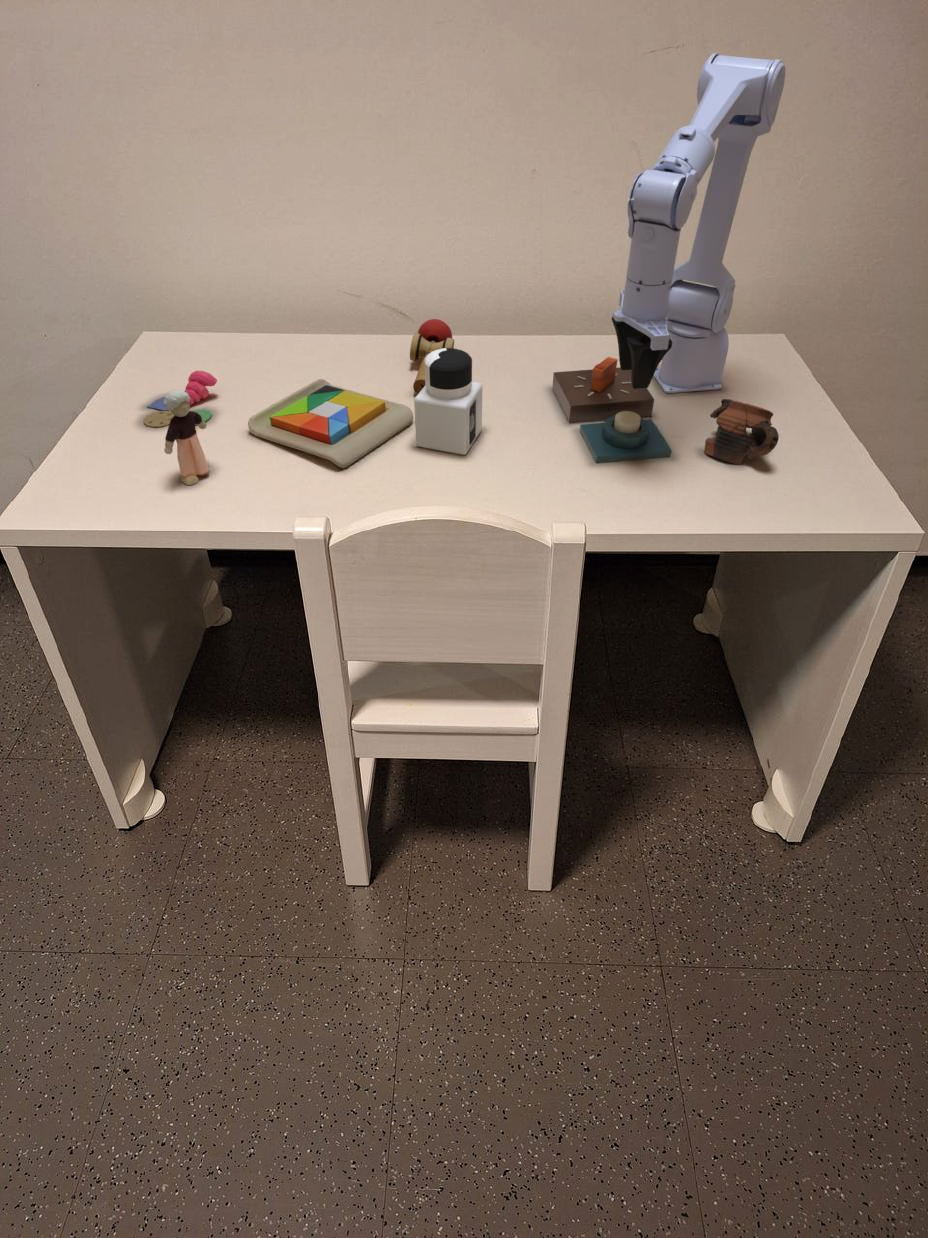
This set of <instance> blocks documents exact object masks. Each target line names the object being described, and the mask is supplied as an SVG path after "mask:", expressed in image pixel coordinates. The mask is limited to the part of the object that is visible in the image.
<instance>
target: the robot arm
mask: <svg viewBox="0 0 928 1238" xmlns="http://www.w3.org/2000/svg"><path fill="white" fill-rule="evenodd" d="M785 79H786V65H785V64H784V61H783V59H781V58H777V59H766V58H756V57H755V58H754V57H744V56H733V55H724V54H723V55H722V54H720V53H716V52H713V53H712V54H711V55H710V56H709V57H708V58H707V59H706V60H705V62H704V64H703V66H702V68H701V71H700V74H699V78H698V82H697V87H696V102H697V107H696V110H695V112H694V114H693V115H692V118H691V120H690V122H689V124H688V125H685V126H682V127H680V128H678V129H677V130H676V131H675V132H674V133H673V135H672V136H671V137H670V139H669V141H668V142H667V144H666V146H665V148H664V149H663V150H662V152H661V154H660V155H659V157H658V158H657V160H656V162H655V163H654V165H653V166H652V168H648V169H646V170H644V172H640V173H638V174H637V176H636V177H635V179H634V181H633V182H632V186H631V188H630V192H629V197H628V200H627V218H628V230H627V234H628V237H629V238H630V247H629V255H628V261H627V269H626V277H625V285H624V290H620V292H619V299H618V306H619V308H620V309H615V310H613V311H612V316H611V322H612V324H613V327H614V330H615V334H616V339H617V346H618V347H617V348H618V361H619V368H621V370H632V372H631V381H632V387H633V388H634V389H639V388H647V389H648V388H649V387H650V384H651V382H652V380H653V378H654V379H655V380H656V382H657V383H658V384H659V386H660V387H661V389H662V390H663V392H664V393H666V394H675V393H676V394H677V393H688V392H703V391H715V390H716V391H717V390H721V389H722V388H723V385H722V384H721V383H722V377H723V374H724V371H725V366H726V362H727V358H728V357H727V356H728V352H729V344H730V343H729V334H728V331H727V328H726V327H725V326H726V325H727V323H728V320H729V318H730V315H731V311H732V308H733V304H734V293H735V288H736V280H735V278H734V276H733V275H732V273H730V272H729V270H728V269H727V268H726V266H725V265H724V263H723V260H724V257H725V253H726V249H727V245H728V241H729V237H730V234H731V230H732V227H733V223H734V219H735V215H736V212H737V207H738V203H739V199H740V195H741V193H742V188H743V185H744V181H745V178H746V173H747V170H748V165H749V162H750V158H751V154H752V152H753V149H754V147H755V145H756V141H757V140H758V138H759V137H761V136H764V135H766V134H769V133H770V132H771V130H772V127H773V125H774V123H775V120H776V116H777V113H778V109H779V106H780V102H781V98H782V95H783V91H784V86H785V83H786V81H785ZM715 141H718V142H717V146H715ZM711 164H712V166H711V171H710V175H709V178H708V183H707V187H706V190H705V195H704V199H703V204H702V208H701V211H700V214H699V215H700V216H699V220H698V224H697V228H696V232H695V235H694V240H693V244H692V249H691V253H690V257H689V259H688V260H686V261H685V262H683V263H681V264H679V265H676V259H677V254H678V247H679V242H680V237H681V231H682V228H683V227H684V226H685V224H687V221H688V219H689V216H690V214H691V211H692V208H693V204H694V201H695V200H696V198H697V194H698V185H699V184H700V182H701V181H702V179H703V177H704V175H705V174H706V172H707V170H708V169H709V167H710V165H711ZM675 266H676V267H675ZM659 365H660V367H659Z"/></svg>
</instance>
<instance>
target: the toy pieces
mask: <svg viewBox="0 0 928 1238" xmlns="http://www.w3.org/2000/svg"><path fill="white" fill-rule="evenodd" d="M187 381H188V382H187V384H186V386H185V388H184V390H183V391H184V392H186V393H187V394H188V395H189V396H190V401H189V405H190V406H191V405H194V404H195V403H199V402H201V400H202V399H207V398H208V396H209V394H210V392H209V390H208V387H215V385H216V384H217V382H218V379H217V378H216V377H215V376H214V375H212V374H211V373H210V372H208V371H204V370H195V371H193V372H191V373H190V375H189V377H188V379H187ZM164 399H165V396H163V397H159V398H156V399H155V400H154V401H153V402H152V403H150V404H148V405H146V407H147V408H150V409H154V410H155V409H156V410H158V411H153V412H150V413H149V414H147V415H146V416H145V417H144V418H143V419H142V420H143V421H142V422H143V424H144V425H145V426H147V427H151V428H161V427H166V426H169V424H170V421H171V419H172V418H173V417H174V416H175V415H173V414H172V413H171V411H169V410H168V409H167V408H166V405H165V404H164ZM193 411H194V412H196V413H198V414H199V415H201V417H202V419H203V421H204V422H205V423H206V422H208V421H209V420H210V419H211V418H212V416H213V413H212V412H211V410H209V409H206V408H203V409H196V410H193ZM195 426H198V425H197V424H196V425H195Z"/></svg>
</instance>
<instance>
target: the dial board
mask: <svg viewBox="0 0 928 1238" xmlns="http://www.w3.org/2000/svg"><path fill="white" fill-rule="evenodd" d="M631 372H632V370H621V368H620V367H616V374H615V381H613V382H612V383H611V384H610V385H608V386H607V387H606V388H604V389H603V390H602V391H601V392H597V391H594V390H591V382H592V374H593V368H592V369H580V370H579V369H578V370H565V371H553V373H552V374H553V376H552V387H551V390H552V391H553V393H554V395H555V397H556V400H557V402H558V404H559V406H560V408H561V410H562V412H563V414H564V416H565V418H566V420H567V422H568V423H569V424H574V423H586V422H587V423H588V422H600V421H605V420H606V419H608V418H610V417H612V416H615V415H616V414H617V413H619V412H622V411H631V412H634V413H637V414H638V415H639V416H640V417H641V418H648V417H649V418H651V417H652V414H653V410H654V409H653V408H654V403H655V398H654V397H653V395H652V394H651V392H650V391H649V389H648V388H639V389H634V388H633V387H632V381H631Z"/></svg>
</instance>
